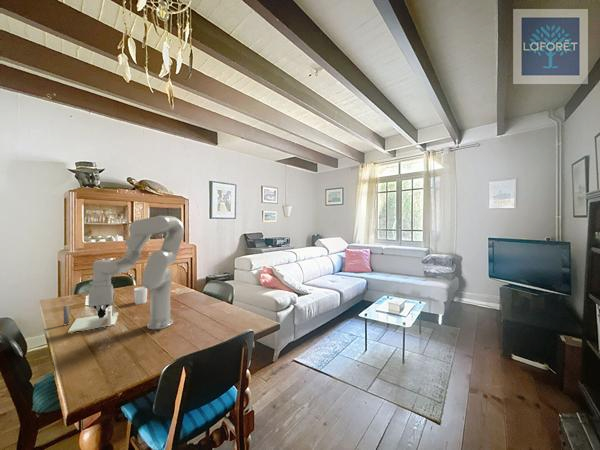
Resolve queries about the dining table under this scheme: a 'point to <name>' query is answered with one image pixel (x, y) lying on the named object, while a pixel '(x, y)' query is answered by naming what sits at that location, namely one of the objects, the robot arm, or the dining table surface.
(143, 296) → the white cup
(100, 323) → the frame
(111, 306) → the white flat panel
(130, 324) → the dining table surface
